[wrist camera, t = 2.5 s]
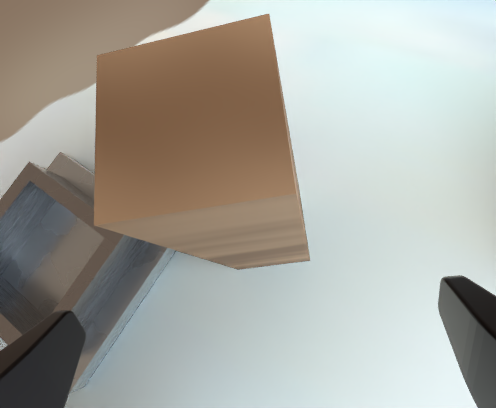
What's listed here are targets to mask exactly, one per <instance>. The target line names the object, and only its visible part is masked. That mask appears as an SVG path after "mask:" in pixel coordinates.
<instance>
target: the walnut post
mask: <svg viewBox="0 0 496 408" xmlns="http://www.w3.org/2000/svg"><path fill="white" fill-rule="evenodd" d="M94 226H98V227H101V228H104V229H107V230H111V231H114V232H117V233H120V234H124V235H127V236H130V237H134V238H137V239H140V240H143V241H147V242H150V243H153V244H156V245H160V246H163V247H166V248H170V249H173V250H176V251H179V252H183V253H186V254H189V255H192V256H196V257H199V258H202V259H206V260H209V261H212V262H215V263H219V264H222V265H225V266H228V267H232V268H235V269H246V268H254V267H262V266H270V265H278V264H286V263H294V262H302V261H310V256H309V250H308V243H307V237H306V231H305V224H304V218H303V211H302V205H301V198H300V192H299V186H298V180H297V174H296V168H295V162H294V157H293V151H292V145H291V139H290V133H289V127H288V121H287V116H286V110H285V104H284V98H283V92H282V86H281V81H280V75H279V69H278V63H277V57H276V51H275V46H274V40H273V34H272V28H271V22H270V16H269V14H265V15H261V16H257V17H253V18H249V19H245V20H241V21H236V22H232V23H228V24H224V25H220V26H216V27H212V28H208V29H204V30H199V31H195V32H191V33H187V34H183V35H179V36H175V37H171V38H167V39H163V40H158V41H154V42H150V43H146V44H142V45H138V46H134V47H130V48H126V49H122V50H117V51H113V52H109V53H105V54H101V55H98V56H97V83H96V137H95V191H94Z"/></svg>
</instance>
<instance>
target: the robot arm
mask: <svg viewBox="0 0 496 408" xmlns="http://www.w3.org/2000/svg"><path fill="white" fill-rule="evenodd" d="M438 308H439V313H440V316H441V319H442V321H443V324H444V327H445V329H446V332H447V335H448V337H449V340H450V343H451V346H452V348H453V351H454V354H455V356H456V359H457V362H458V364H459V367H460V370H461V372H462V375H463V377H464V380H465V382H466V384H467V387H468V389H469V391H470V393H471V395H472V397H473V399H474V401H475V403H476V405H477V407H478V408H496V296H495V295H493V294H492V293H490V292H489V291H487V290H485V289H484V288H482V287H481V286H479V285H477V284H476V283H474V282H473V281H471V280H470V279H468V278H466V277H464V276H460V275H459V276H448V277H443V278H442V279H441V282H440V291H439V300H438ZM85 340H86V333H85V330H84V328H83V326H82V325H81V323H80V322H79V320H78V318H77V317H76V315H75V314H74V312H72V311H71V310H64V311H56V312H53V313H52V314H51V315H49V316H48V317H46V318H45V319H44V320H42V321H41V322H40V323H38V324H37V325H35V326H34V327H33V328H31V329H30V330H29V331H27V332H26V333H24V334H23V335H22V336H20V337H19V338H18V339H16V340H15V341H13V342H12V343H11V344H9V345H8V346H7V347H5V348H4V349H2V350H1V351H0V408H64V406H65V404H66V401H67V398H68V395H69V392H70V389H71V386H72V383H73V379H74V376H75V373H76V370H77V366H78V363H79V360H80V357H81V353H82V350H83V347H84V344H85Z"/></svg>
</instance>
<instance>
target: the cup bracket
mask: <svg viewBox="0 0 496 408" xmlns="http://www.w3.org/2000/svg"><path fill="white" fill-rule="evenodd" d="M94 191H95V174H94V173H92V172H91V171H89V170H88V169H87V168H85V167H84V166H82V165H81V164H79V163H78V162H76V161H75V160H74V159H72V158H70V157H68V156H66V155H65V154H63V153H61V152H60V153H59V154H58V156H57V157H56V158H55V160H54V161H53V162H52V164H51V165H50V166H49V168H48V169H47V170H46V169H44V168H42V167H40V166H38V165H35V164H33V163H31V162H29V163H28V164H27V165H26V167H25V168H24V169H23V171H22V172H21V173H20V175H19V176H18V177H17V179H16V180H15V181H14V183H13V184H12V185H11V187H10V188H9V189H8V191H7V192H6V193H5V195H4V196H3V197H2V199H1V200H0V337H1V338H2V339H3V340H4V341H5V342H6V343H7V344H8V345H9V344H11V343H12V342H13V341H15V340H16V339H18V338H19V337H20V336H22V335H23V334H24V333H26V332H27V331H29V330H30V329H31V328H33V327H34V326H35V325H37V324H38V323H40V322H41V321H42V320H44V319H45V318H46V317H48V316H49V315H51V314H52V313H53V312H56V311H64V310H71V311H72V312H74V314H75V315H76V317H77V318H78V320H79V322H80V323H81V325H82V326H83V328H84V330H85V333H86V340H85V344H84V347H83V350H82V353H81V357H80V360H79V363H78V366H77V370H76V373H75V376H74V379H73V383H72V386H71V389H70V392H69V393H71V392H73V391H76V390H78V389H81V388H83V387H84V386H85V385H86V383H87V382H88V380H89V379H90V377H91V376H92V374H93V373H94V372H95V370H96V369H97V367H98V366H99V364H100V363H101V361H102V360H103V358H104V357H105V355H106V354H107V352H108V351H109V349H110V348H111V346H112V345H113V343H114V342H115V340H116V339H117V337H118V336H119V334H120V333H121V331H122V330H123V328H124V327H125V325H126V324H127V323H128V321H129V320H130V318H131V317H132V315H133V314H134V312H135V311H136V309H137V308H138V306H139V305H140V303H141V302H142V300H143V299H144V297H145V296H146V294H147V293H148V291H149V290H150V288H151V287H152V285H153V284H154V282H155V281H156V279H157V278H158V276H159V275H160V274H161V272H162V271H163V269H164V268H165V266H166V265H167V263H168V262H169V260H170V259H171V257H172V256H173V254H174V253H175V251H176V250H173V249H170V248H166V247H163V246H160V245H156V244H153V243H150V242H147V241H143V240H140V239H137V238H134V237H130V236H127V235H124V234H120V233H117V232H114V231H111V230H107V229H104V228H101V227H98V226H94Z"/></svg>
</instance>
